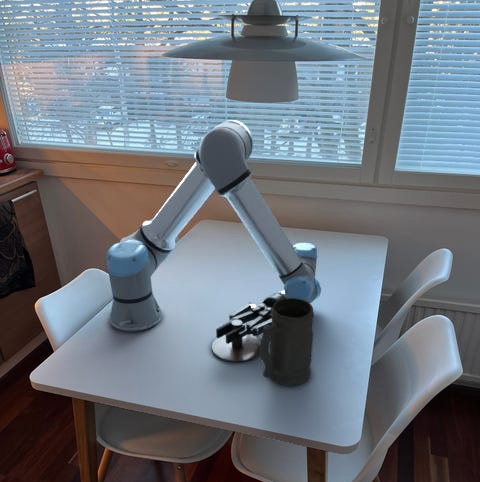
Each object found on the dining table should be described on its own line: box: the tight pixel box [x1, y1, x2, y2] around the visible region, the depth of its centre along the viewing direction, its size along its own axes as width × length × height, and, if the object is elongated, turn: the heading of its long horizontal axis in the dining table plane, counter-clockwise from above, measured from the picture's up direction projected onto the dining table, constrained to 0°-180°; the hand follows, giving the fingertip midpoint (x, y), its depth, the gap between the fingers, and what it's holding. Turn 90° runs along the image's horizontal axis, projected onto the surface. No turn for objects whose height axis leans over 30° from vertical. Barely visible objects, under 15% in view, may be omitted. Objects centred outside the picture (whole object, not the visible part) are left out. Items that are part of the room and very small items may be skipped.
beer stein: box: [259, 298, 315, 387], centre depth 115 cm, size 15×11×20 cm
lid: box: [211, 320, 262, 364], centre depth 129 cm, size 14×14×8 cm
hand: (222, 336), depth 125 cm, fingers closed on lid, 3 cm apart
